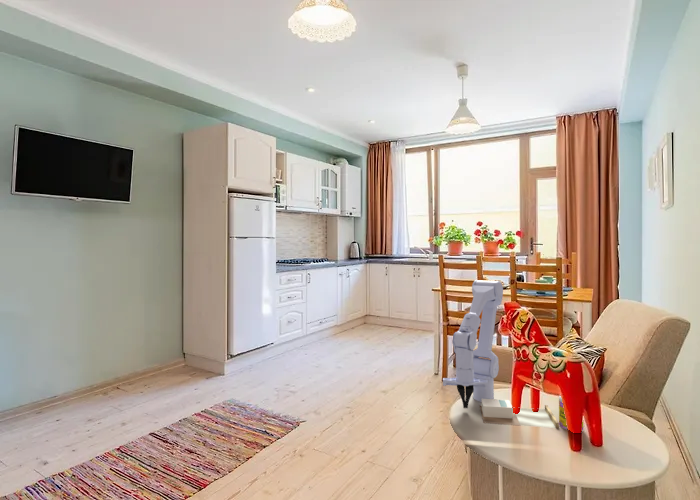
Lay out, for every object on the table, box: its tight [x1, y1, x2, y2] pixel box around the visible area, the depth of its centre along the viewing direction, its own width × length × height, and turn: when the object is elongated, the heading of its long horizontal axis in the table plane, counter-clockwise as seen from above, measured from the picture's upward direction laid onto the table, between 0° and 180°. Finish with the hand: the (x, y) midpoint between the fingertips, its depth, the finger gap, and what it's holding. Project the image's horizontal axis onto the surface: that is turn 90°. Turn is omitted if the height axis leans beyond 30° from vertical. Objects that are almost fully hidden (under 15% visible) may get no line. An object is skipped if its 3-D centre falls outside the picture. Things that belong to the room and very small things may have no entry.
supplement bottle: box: [558, 395, 584, 432], centre depth 127 cm, size 7×7×13 cm
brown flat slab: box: [479, 404, 560, 429], centre depth 135 cm, size 14×22×2 cm, turn 78°
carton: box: [481, 398, 514, 419], centre depth 138 cm, size 6×9×4 cm
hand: (465, 407), depth 140 cm, fingers closed
